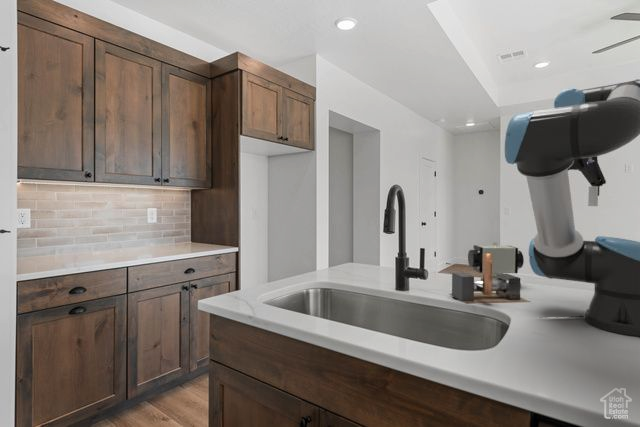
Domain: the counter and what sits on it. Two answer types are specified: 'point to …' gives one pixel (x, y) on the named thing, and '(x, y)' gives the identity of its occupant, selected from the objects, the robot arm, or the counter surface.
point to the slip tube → (489, 278)
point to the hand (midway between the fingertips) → (573, 206)
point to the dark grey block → (463, 286)
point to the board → (491, 299)
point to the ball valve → (496, 258)
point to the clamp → (509, 287)
